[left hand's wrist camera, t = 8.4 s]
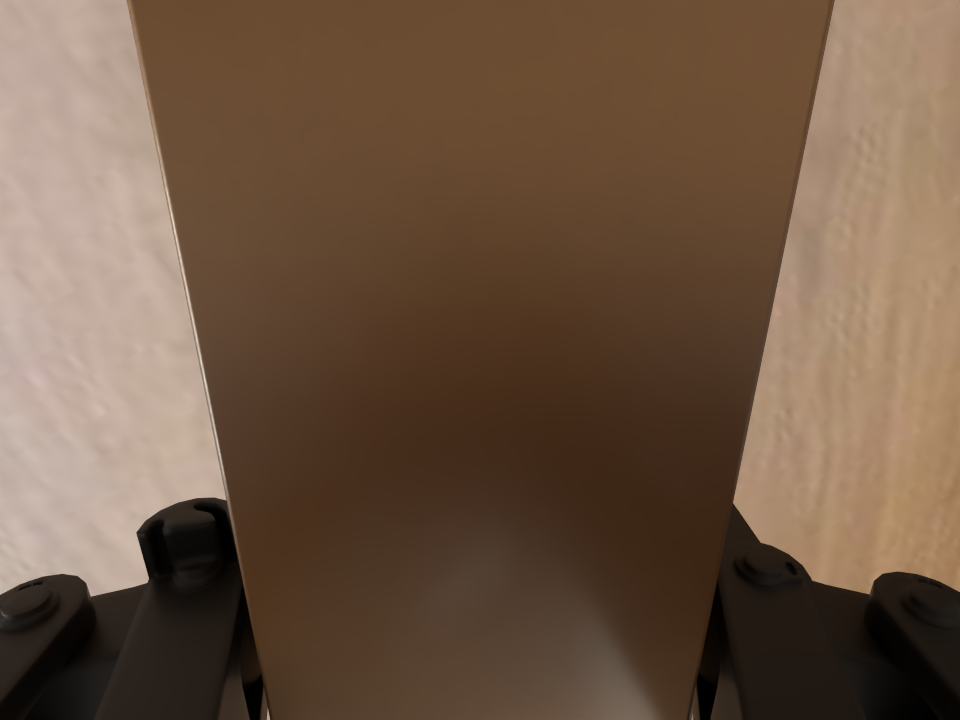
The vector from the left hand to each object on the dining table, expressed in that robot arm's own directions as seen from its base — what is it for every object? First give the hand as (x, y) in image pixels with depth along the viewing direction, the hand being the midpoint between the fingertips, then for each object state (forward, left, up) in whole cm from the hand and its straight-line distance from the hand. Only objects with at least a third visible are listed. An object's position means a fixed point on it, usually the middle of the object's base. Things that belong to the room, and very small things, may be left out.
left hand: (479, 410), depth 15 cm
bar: (+9, 0, -1) cm, 9 cm away
